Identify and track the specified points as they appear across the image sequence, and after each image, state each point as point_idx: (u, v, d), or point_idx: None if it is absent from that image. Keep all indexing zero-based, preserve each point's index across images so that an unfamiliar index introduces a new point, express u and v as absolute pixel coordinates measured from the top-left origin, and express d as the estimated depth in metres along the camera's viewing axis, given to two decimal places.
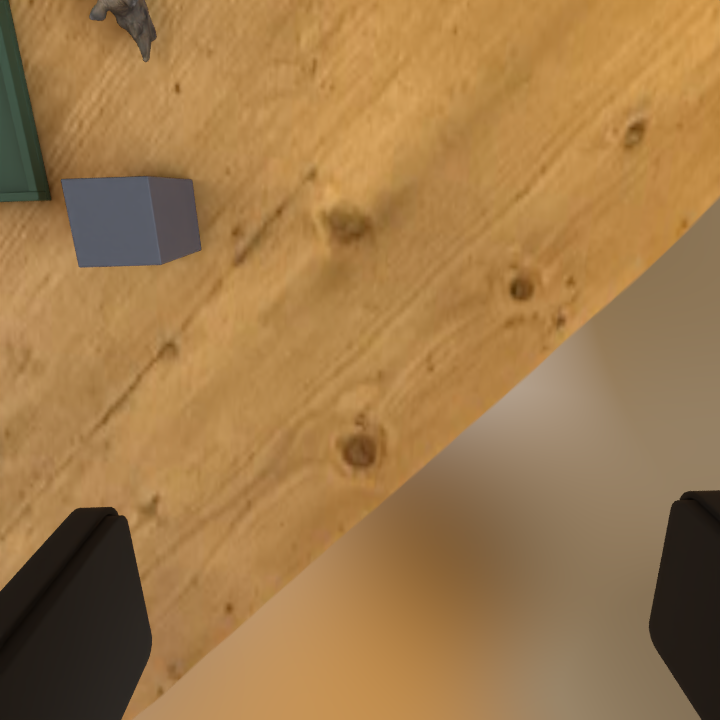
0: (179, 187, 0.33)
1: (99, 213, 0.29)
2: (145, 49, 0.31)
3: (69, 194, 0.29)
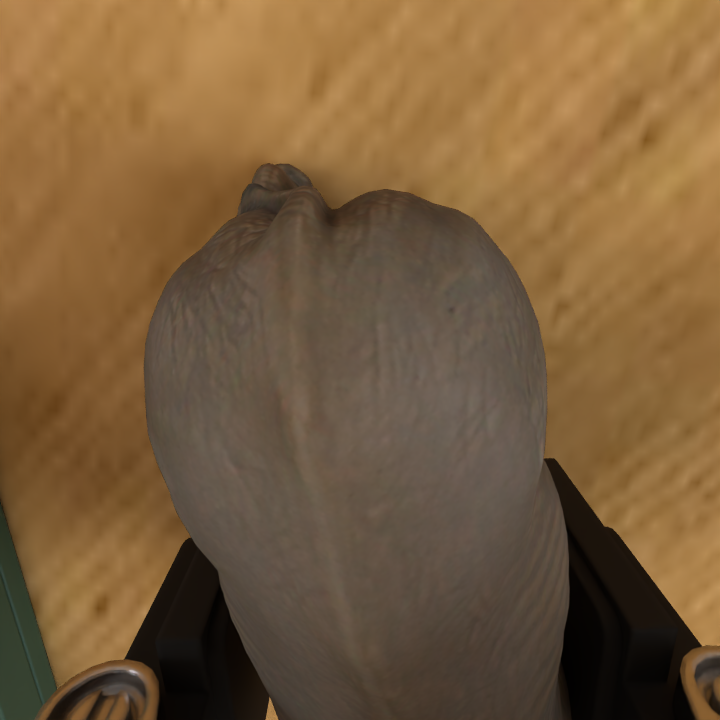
0: None
1: None
2: None
3: None
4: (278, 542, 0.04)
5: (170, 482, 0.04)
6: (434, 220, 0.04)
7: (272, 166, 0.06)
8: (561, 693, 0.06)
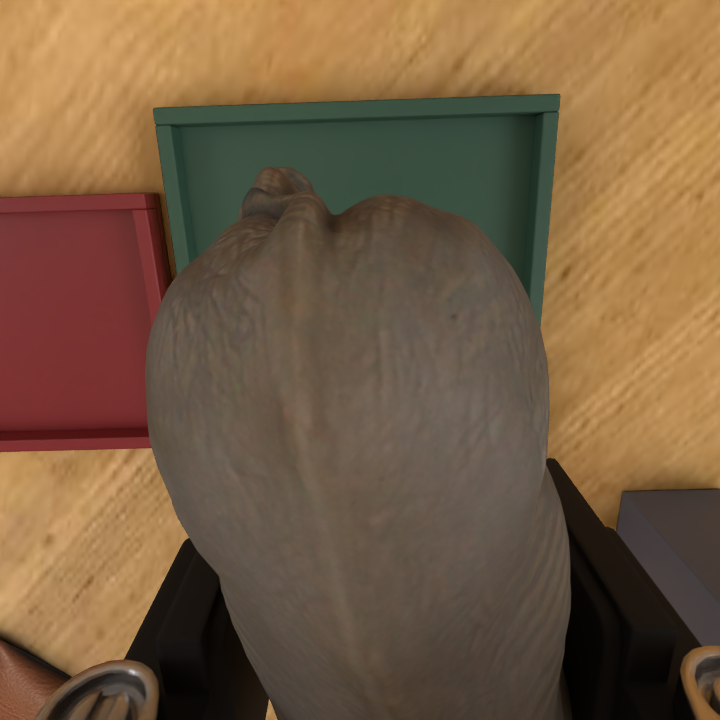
0: None
1: None
2: None
3: None
4: (280, 549, 0.04)
5: (171, 488, 0.04)
6: (438, 227, 0.04)
7: (273, 169, 0.06)
8: (562, 698, 0.06)
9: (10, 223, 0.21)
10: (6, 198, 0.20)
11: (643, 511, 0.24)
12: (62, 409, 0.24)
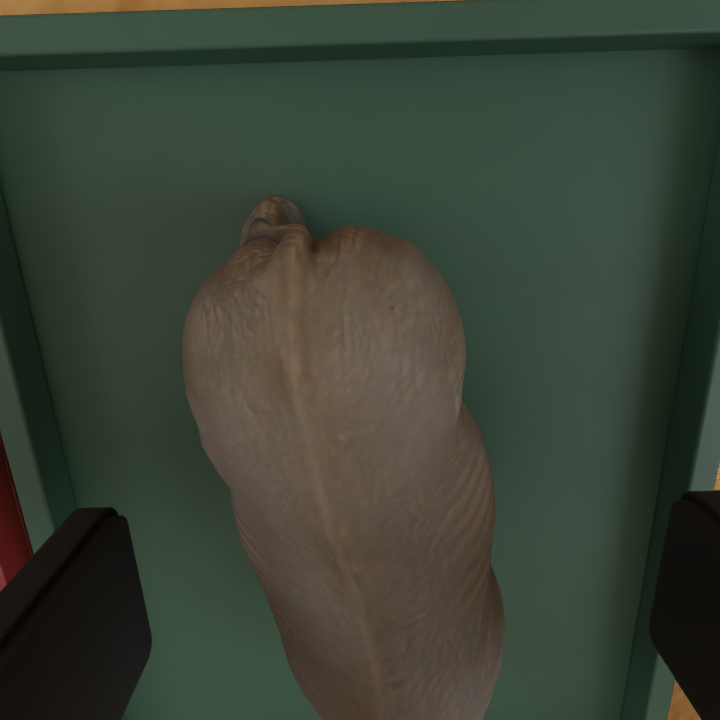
0: None
1: None
2: None
3: None
4: (279, 460, 0.05)
5: (204, 427, 0.06)
6: (384, 249, 0.06)
7: (270, 200, 0.08)
8: (495, 606, 0.08)
9: None
10: None
11: None
12: None
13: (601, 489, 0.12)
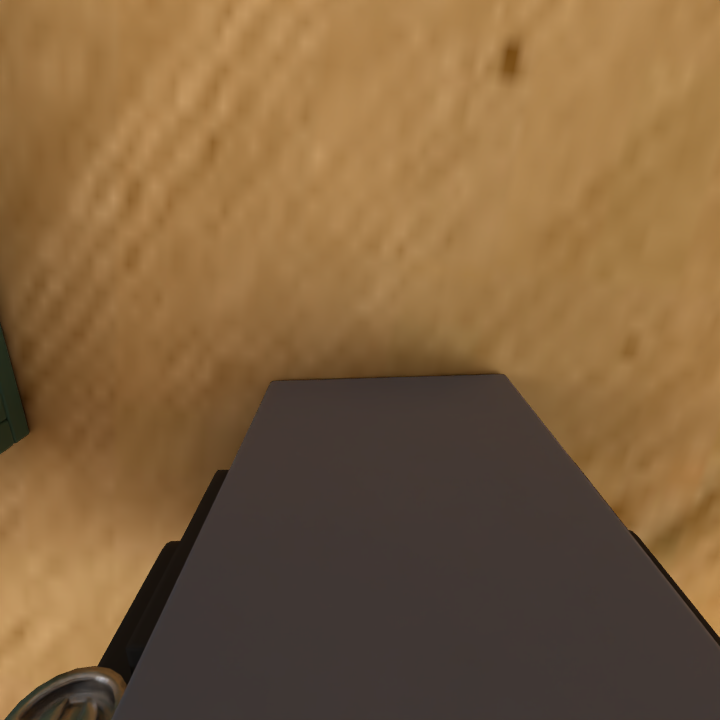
0: None
1: None
2: None
3: None
4: None
5: None
6: None
7: None
8: None
9: None
10: None
11: (262, 414, 0.09)
12: None
13: None
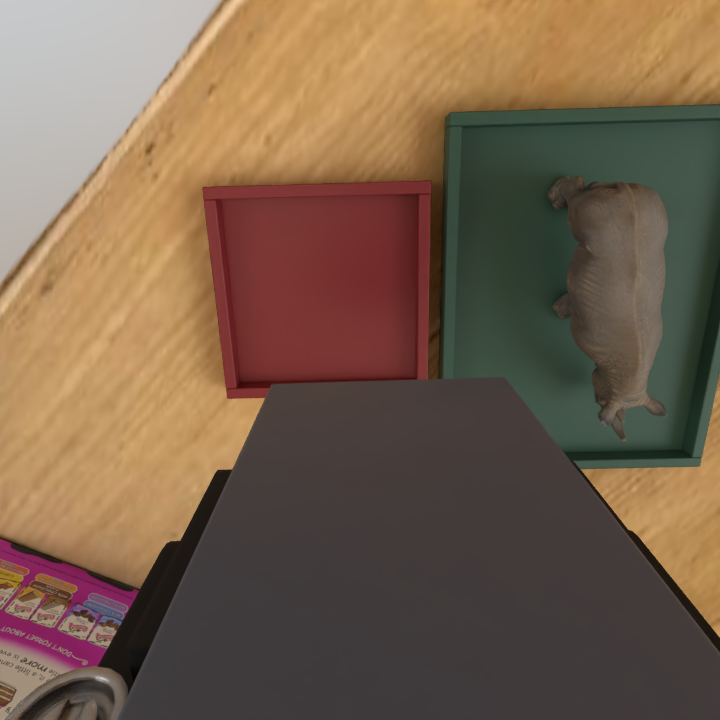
0: None
1: None
2: (620, 424, 0.27)
3: None
4: (624, 243, 0.21)
5: (597, 237, 0.21)
6: (648, 188, 0.21)
7: None
8: None
9: (307, 206, 0.26)
10: (319, 184, 0.24)
11: (263, 417, 0.09)
12: (321, 362, 0.28)
13: (684, 308, 0.27)
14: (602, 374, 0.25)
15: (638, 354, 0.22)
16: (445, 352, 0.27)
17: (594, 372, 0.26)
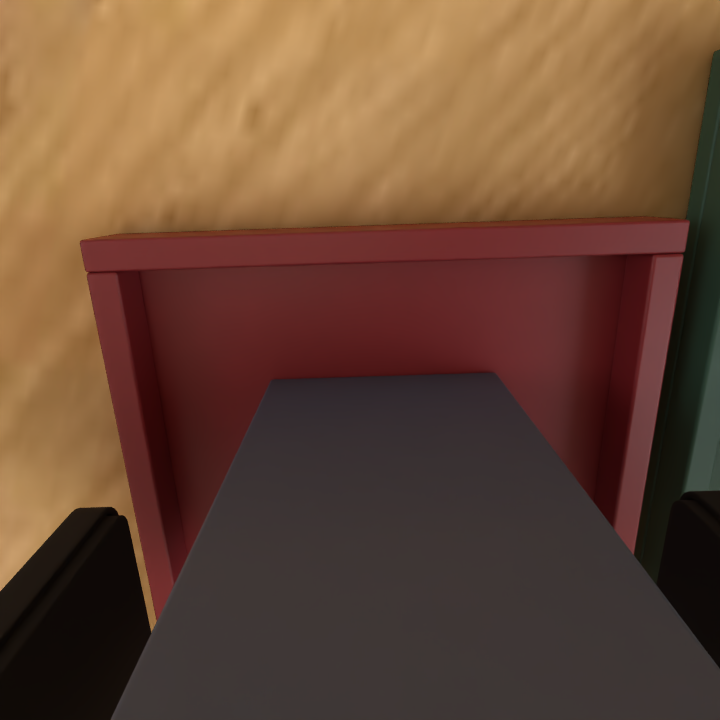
0: None
1: None
2: None
3: None
4: None
5: None
6: None
7: None
8: None
9: (352, 279, 0.10)
10: (392, 232, 0.09)
11: (263, 410, 0.09)
12: None
13: None
14: None
15: None
16: None
17: None
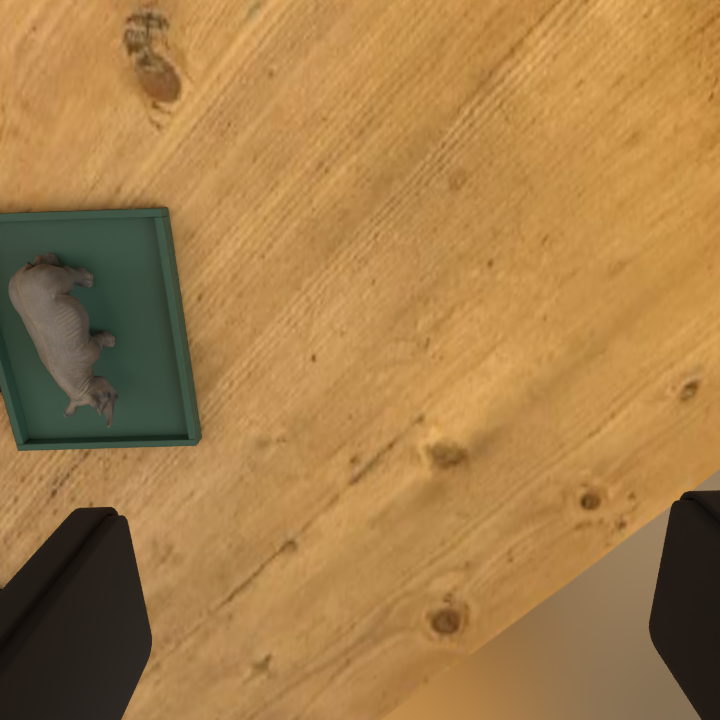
0: None
1: None
2: (109, 416, 0.40)
3: None
4: (20, 303, 0.34)
5: (10, 299, 0.34)
6: (40, 269, 0.34)
7: (38, 256, 0.37)
8: (87, 347, 0.37)
9: None
10: None
11: None
12: None
13: (160, 337, 0.40)
14: None
15: (50, 371, 0.35)
16: None
17: None
